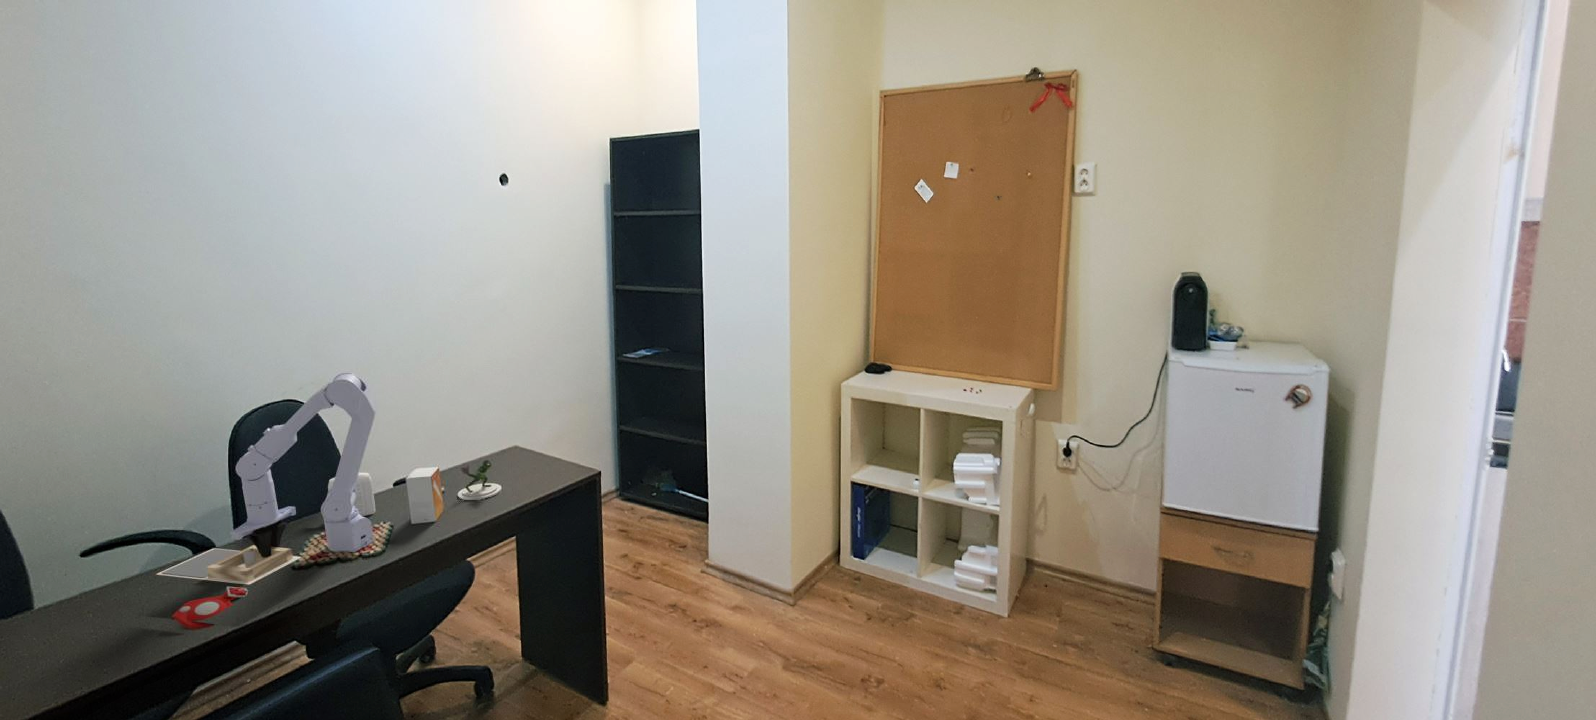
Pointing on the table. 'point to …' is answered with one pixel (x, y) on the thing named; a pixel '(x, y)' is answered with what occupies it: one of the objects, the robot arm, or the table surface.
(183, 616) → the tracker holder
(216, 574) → the beige rectangular frame
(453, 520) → the table surface
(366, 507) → the photo printer
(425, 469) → the small box
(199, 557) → the board
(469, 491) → the monster figurine
